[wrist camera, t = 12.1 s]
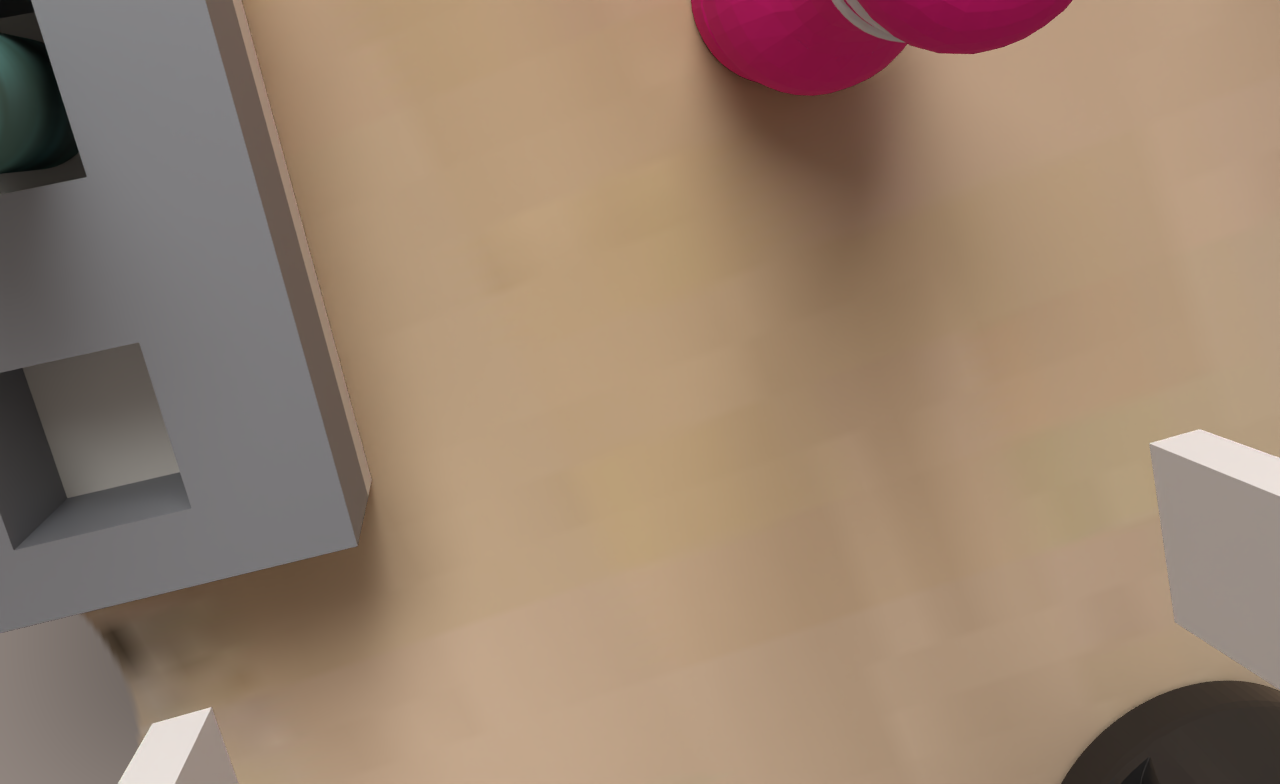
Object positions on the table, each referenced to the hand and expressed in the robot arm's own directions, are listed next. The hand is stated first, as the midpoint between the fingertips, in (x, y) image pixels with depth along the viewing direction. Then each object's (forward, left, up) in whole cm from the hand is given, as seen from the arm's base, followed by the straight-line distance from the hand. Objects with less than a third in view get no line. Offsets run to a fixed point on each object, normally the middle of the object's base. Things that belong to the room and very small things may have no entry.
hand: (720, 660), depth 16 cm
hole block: (+6, +15, -28) cm, 32 cm away
